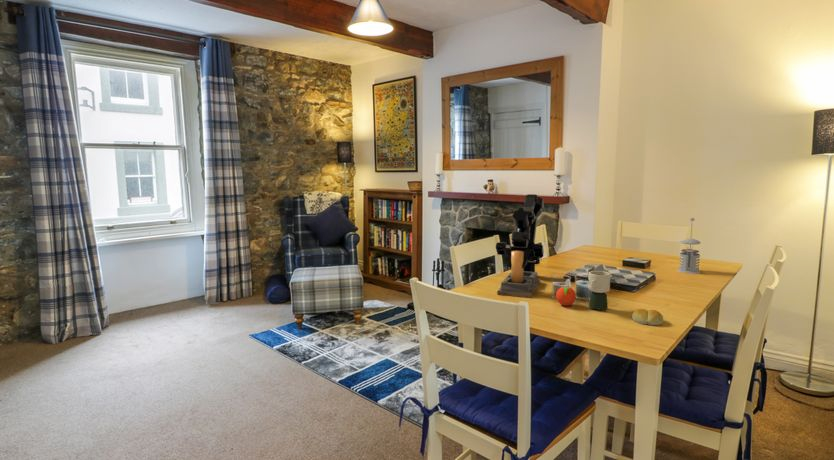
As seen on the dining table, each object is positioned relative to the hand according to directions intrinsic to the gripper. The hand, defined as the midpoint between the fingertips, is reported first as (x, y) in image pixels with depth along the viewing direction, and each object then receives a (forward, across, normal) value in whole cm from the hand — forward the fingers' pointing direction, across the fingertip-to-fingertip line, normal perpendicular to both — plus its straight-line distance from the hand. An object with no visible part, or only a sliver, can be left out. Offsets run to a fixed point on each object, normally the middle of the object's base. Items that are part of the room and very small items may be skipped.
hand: (516, 267), depth 185 cm
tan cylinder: (+4, 0, +6) cm, 7 cm away
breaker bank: (+2, 0, +13) cm, 13 cm away
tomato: (+16, +20, 0) cm, 25 cm away
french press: (-35, +68, +51) cm, 92 cm away
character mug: (+16, +31, 0) cm, 35 cm away
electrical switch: (-6, +30, +21) cm, 37 cm away
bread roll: (+22, +46, -6) cm, 51 cm away
